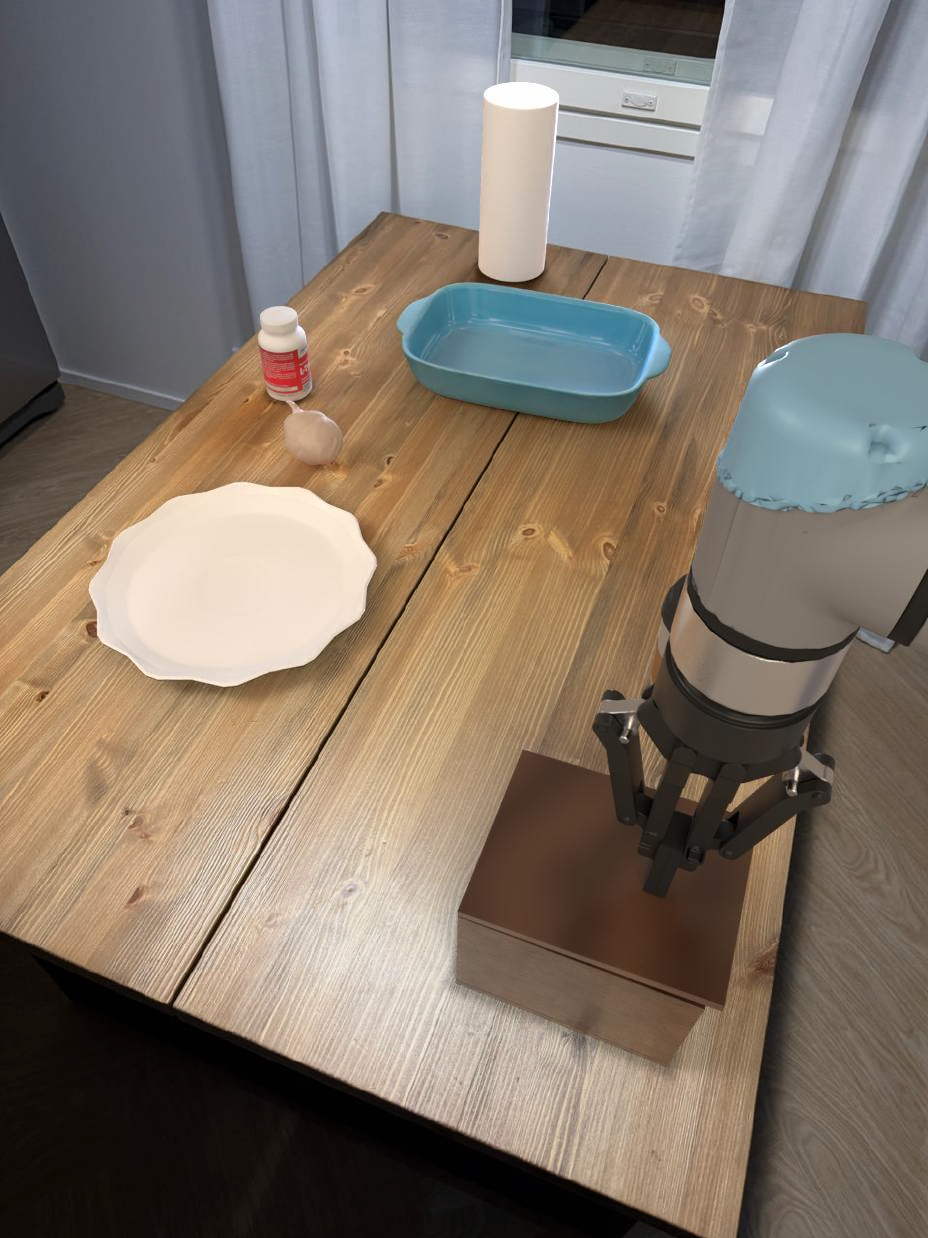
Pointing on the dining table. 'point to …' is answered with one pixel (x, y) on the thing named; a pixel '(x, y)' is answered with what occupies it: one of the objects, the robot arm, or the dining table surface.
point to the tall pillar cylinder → (516, 179)
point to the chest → (574, 993)
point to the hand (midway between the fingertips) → (657, 876)
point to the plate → (232, 584)
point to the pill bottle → (284, 354)
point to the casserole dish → (532, 351)
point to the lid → (603, 885)
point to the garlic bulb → (311, 436)
